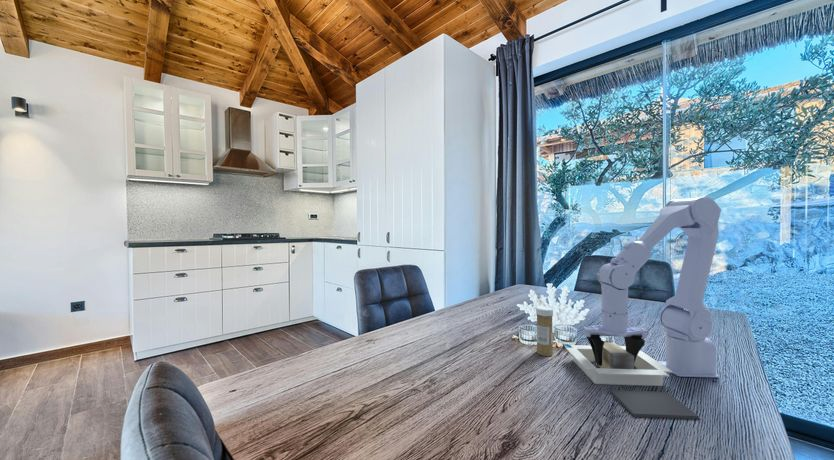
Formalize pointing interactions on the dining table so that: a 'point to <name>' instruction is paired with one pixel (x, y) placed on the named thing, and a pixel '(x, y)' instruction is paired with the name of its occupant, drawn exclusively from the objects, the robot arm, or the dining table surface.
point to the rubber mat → (653, 404)
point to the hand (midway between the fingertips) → (614, 364)
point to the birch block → (616, 357)
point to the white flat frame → (643, 375)
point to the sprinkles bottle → (544, 330)
